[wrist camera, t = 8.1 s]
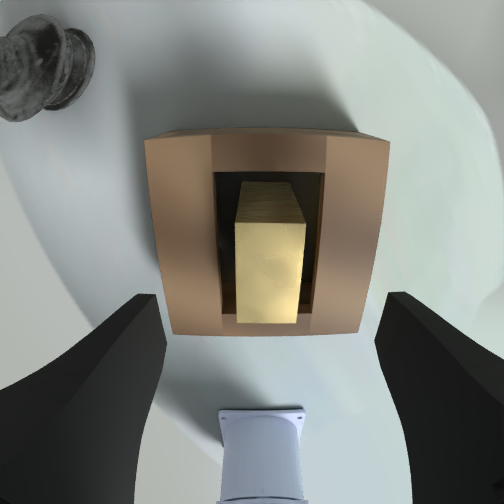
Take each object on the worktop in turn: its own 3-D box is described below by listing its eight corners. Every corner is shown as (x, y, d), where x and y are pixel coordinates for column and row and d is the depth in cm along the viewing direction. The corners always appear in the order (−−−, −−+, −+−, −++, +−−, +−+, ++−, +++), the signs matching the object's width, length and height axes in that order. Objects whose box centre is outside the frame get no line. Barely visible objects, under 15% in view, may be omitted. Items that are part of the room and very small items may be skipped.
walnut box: (341, 291, 19) (357, 332, 16) (186, 292, 19) (173, 334, 16) (359, 132, 15) (390, 141, 11) (169, 131, 15) (144, 140, 11)
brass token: (284, 257, 18) (296, 323, 13) (242, 256, 18) (236, 322, 13) (289, 182, 16) (306, 223, 11) (242, 181, 16) (235, 222, 11)
